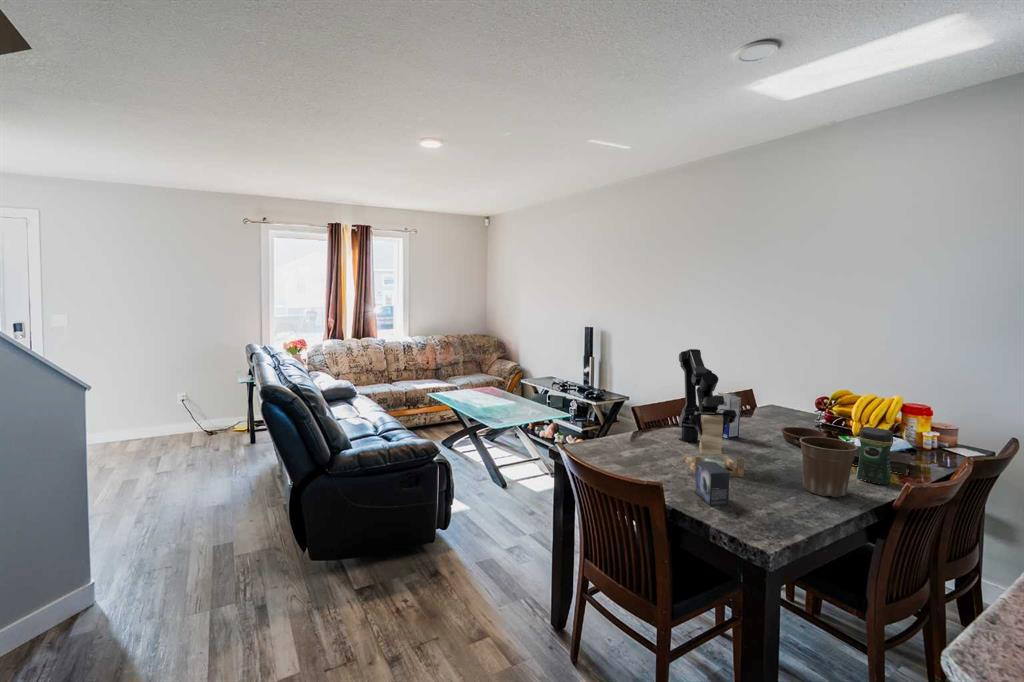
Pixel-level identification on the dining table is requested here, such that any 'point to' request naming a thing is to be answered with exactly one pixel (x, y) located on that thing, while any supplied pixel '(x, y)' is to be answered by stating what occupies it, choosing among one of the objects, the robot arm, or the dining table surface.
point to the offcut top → (721, 463)
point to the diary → (891, 460)
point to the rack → (737, 469)
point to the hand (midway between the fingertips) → (712, 435)
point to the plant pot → (826, 465)
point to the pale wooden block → (711, 435)
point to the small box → (712, 483)
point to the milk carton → (731, 404)
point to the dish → (799, 434)
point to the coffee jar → (875, 455)
